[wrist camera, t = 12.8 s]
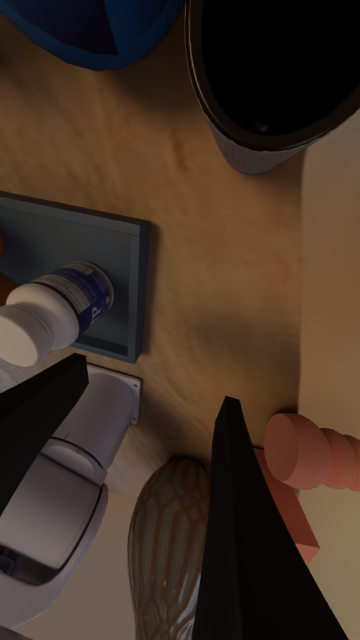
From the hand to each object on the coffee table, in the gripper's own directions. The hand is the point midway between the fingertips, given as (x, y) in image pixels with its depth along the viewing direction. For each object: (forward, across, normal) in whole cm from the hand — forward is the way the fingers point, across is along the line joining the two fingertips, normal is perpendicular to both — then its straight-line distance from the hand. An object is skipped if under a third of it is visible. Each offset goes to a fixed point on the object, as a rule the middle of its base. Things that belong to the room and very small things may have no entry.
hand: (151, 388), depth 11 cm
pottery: (+5, -11, +17) cm, 21 cm away
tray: (+10, +14, +1) cm, 18 cm away
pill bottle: (+10, +10, +1) cm, 14 cm away
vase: (+10, -5, +30) cm, 32 cm away
